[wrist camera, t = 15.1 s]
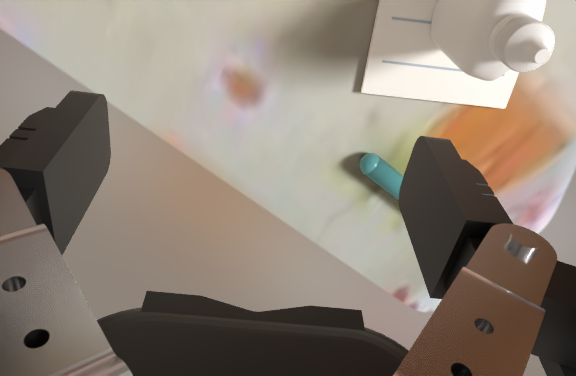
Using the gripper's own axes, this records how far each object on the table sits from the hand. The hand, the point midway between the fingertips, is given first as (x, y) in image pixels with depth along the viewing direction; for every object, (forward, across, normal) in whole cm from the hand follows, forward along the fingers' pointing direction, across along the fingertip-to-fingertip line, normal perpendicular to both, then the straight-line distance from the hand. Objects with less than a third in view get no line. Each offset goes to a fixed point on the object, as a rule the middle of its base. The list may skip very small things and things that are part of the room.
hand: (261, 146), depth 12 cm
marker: (+22, -14, +15) cm, 30 cm away
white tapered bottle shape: (+22, -13, 0) cm, 26 cm away
